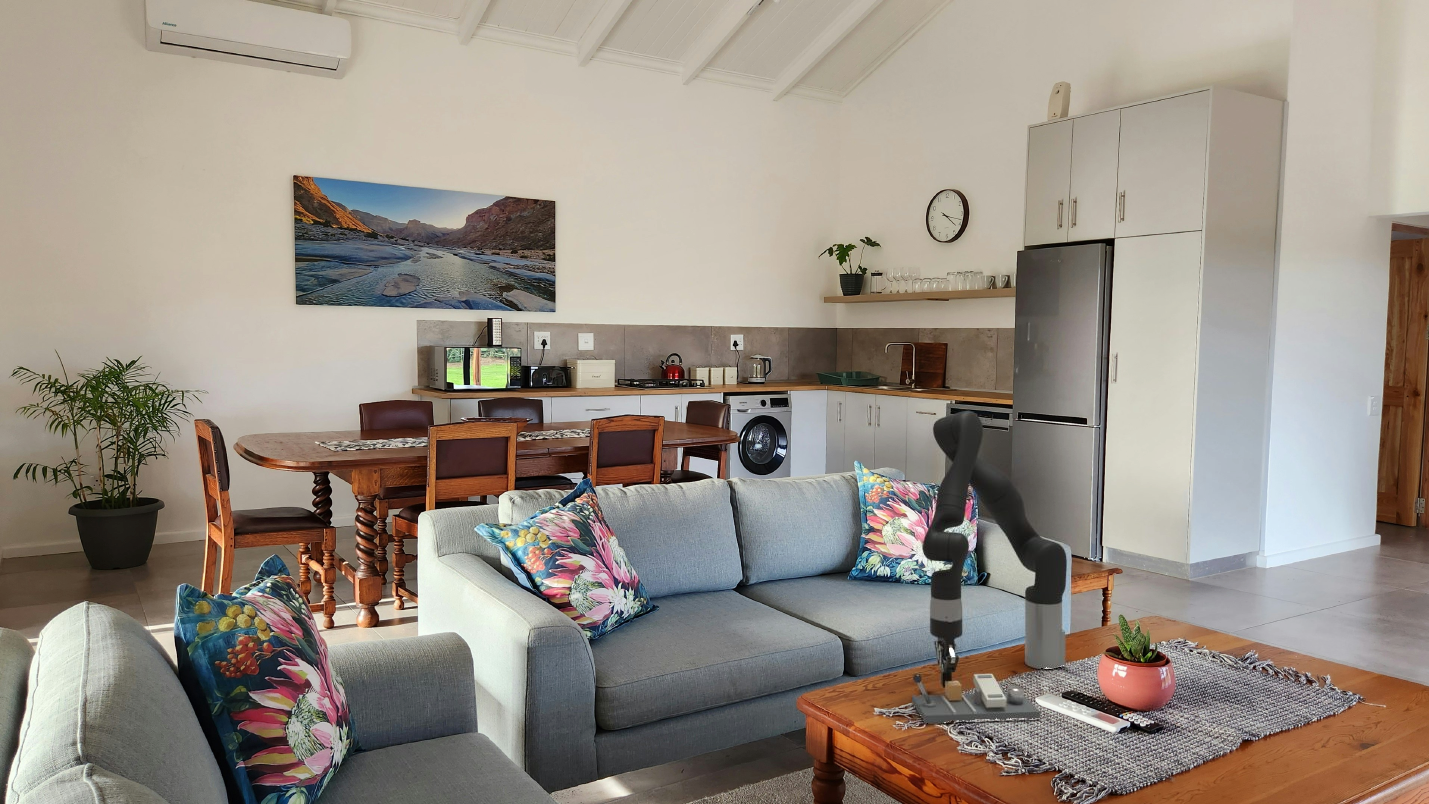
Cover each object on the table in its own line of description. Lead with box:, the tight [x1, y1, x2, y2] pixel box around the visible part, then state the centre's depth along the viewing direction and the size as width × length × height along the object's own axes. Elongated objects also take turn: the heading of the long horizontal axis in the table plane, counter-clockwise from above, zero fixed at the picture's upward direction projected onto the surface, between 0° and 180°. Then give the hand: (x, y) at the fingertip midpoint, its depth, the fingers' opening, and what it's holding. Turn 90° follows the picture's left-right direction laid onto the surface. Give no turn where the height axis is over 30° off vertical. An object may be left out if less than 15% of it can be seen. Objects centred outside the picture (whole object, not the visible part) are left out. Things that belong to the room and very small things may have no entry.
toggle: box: [912, 673, 931, 704], centre depth 216 cm, size 2×2×8 cm
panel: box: [911, 686, 1041, 725], centre depth 216 cm, size 26×12×5 cm, turn 92°
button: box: [1006, 684, 1024, 704], centre depth 217 cm, size 4×4×3 cm
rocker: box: [972, 673, 1007, 707], centre depth 216 cm, size 4×10×2 cm, turn 2°
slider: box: [944, 680, 963, 701], centre depth 219 cm, size 3×3×4 cm
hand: (946, 686), depth 225 cm, fingers closed
